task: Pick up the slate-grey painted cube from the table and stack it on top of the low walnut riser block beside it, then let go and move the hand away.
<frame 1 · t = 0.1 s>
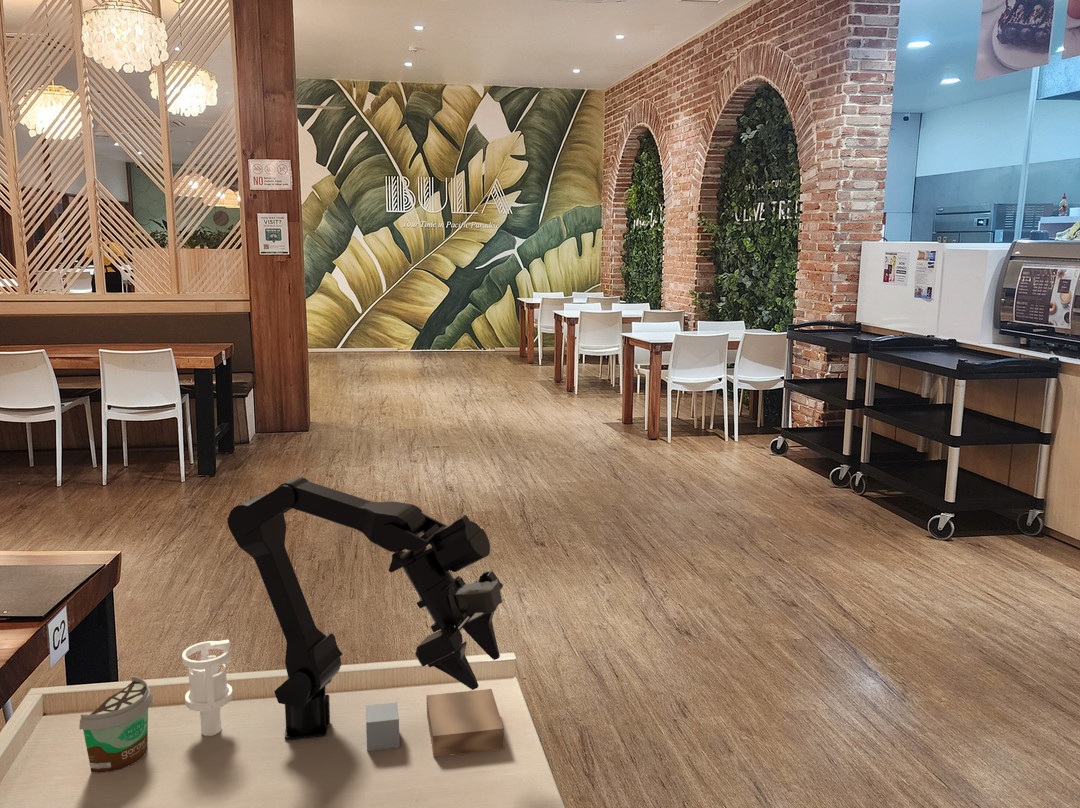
hand: (486, 673, 128), 15 cm above the table, tool tilted 30°, fingers open, 9 cm apart
slate cube: (382, 740, 136), on the table
food container: (130, 757, 131), on the table
walnut riser: (463, 733, 139), on the table
strainer: (211, 731, 138), on the table
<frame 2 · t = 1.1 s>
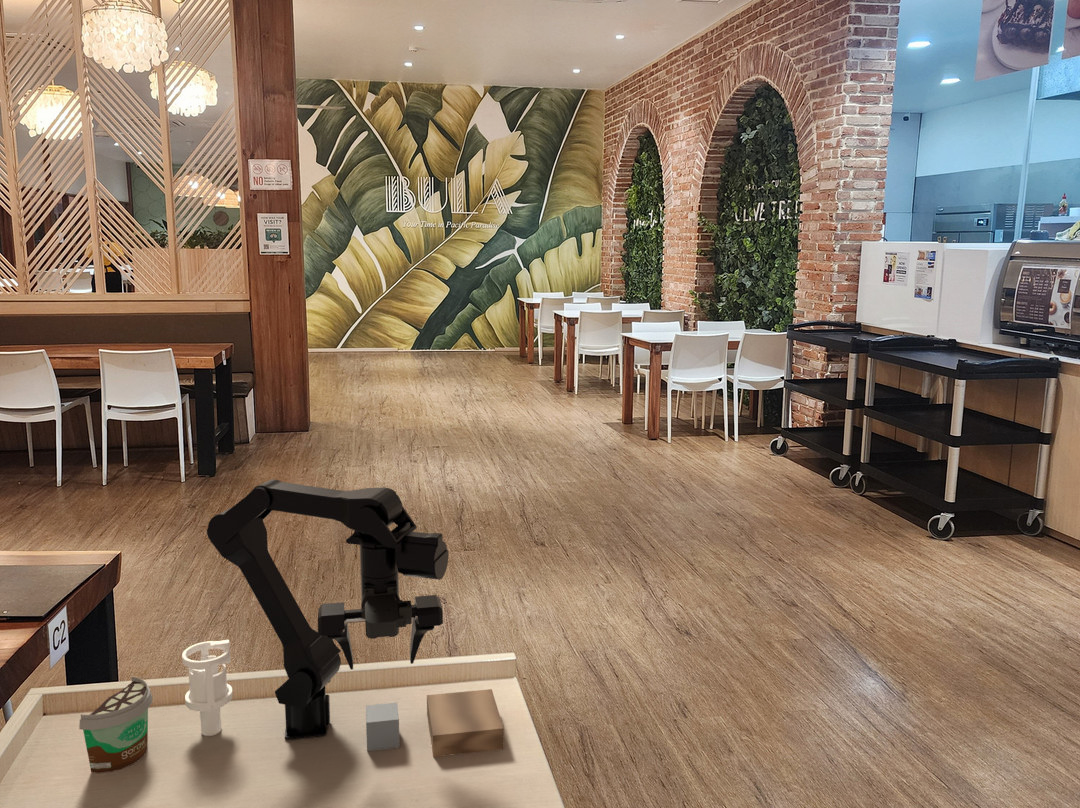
hand: (382, 665, 133), 13 cm above the table, tool pointing down, fingers open, 9 cm apart
nothing on the table moved.
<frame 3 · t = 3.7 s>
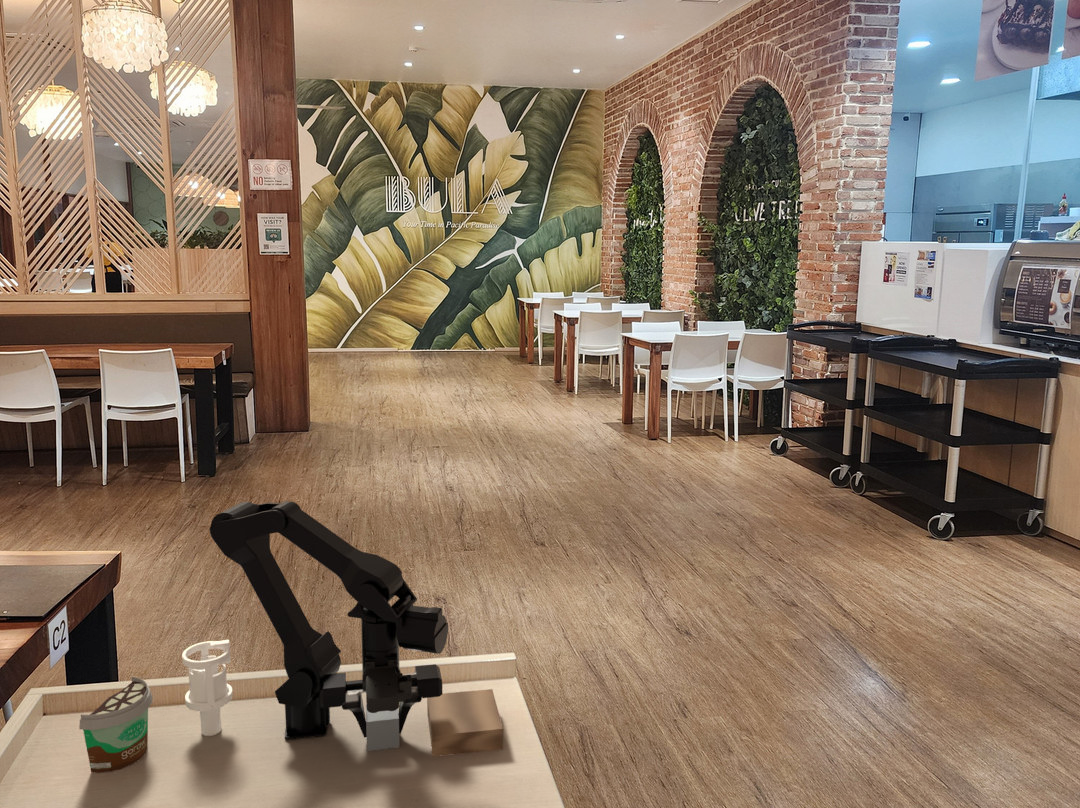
hand: (382, 734, 136), 1 cm above the table, tool pointing down, fingers closed on slate cube, 5 cm apart
slate cube: (382, 740, 136), on the table, touching gripper
everything else where it was.
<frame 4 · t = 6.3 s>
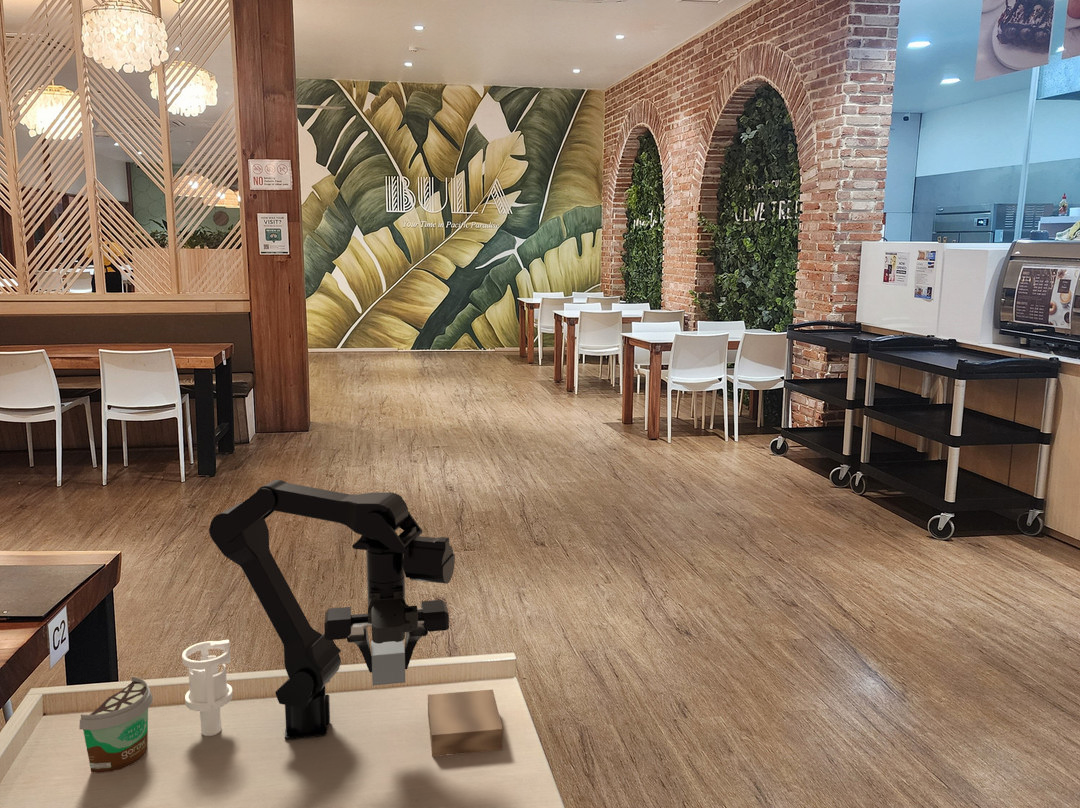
hand: (388, 669, 134), 12 cm above the table, tool pointing down, fingers closed on slate cube, 5 cm apart
slate cube: (388, 676, 134), point 11 cm above the table, touching gripper
everything else where it was.
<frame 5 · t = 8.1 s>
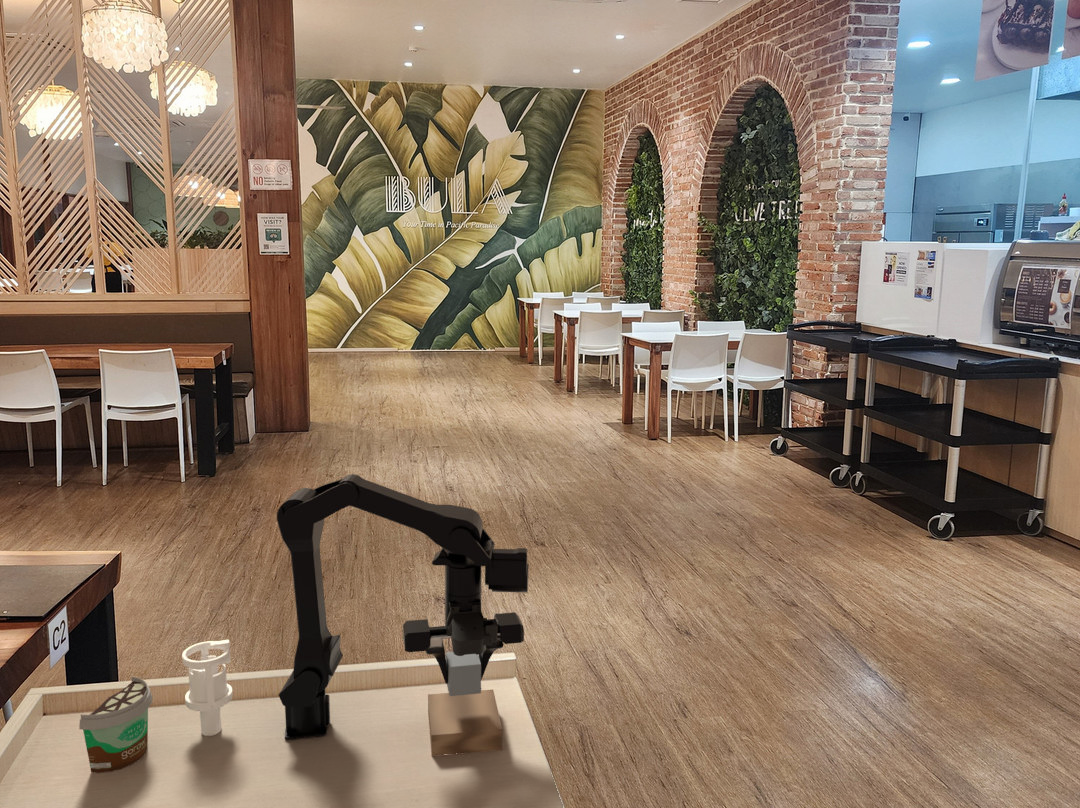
hand: (463, 680, 137), 9 cm above the table, tool pointing down, fingers closed on slate cube, 5 cm apart
slate cube: (463, 686, 137), point 8 cm above the table, touching gripper
everything else where it was.
when the fingers open (6 cm above the table, at t = 9.4 s): slate cube drops 2 cm, resting on walnut riser.
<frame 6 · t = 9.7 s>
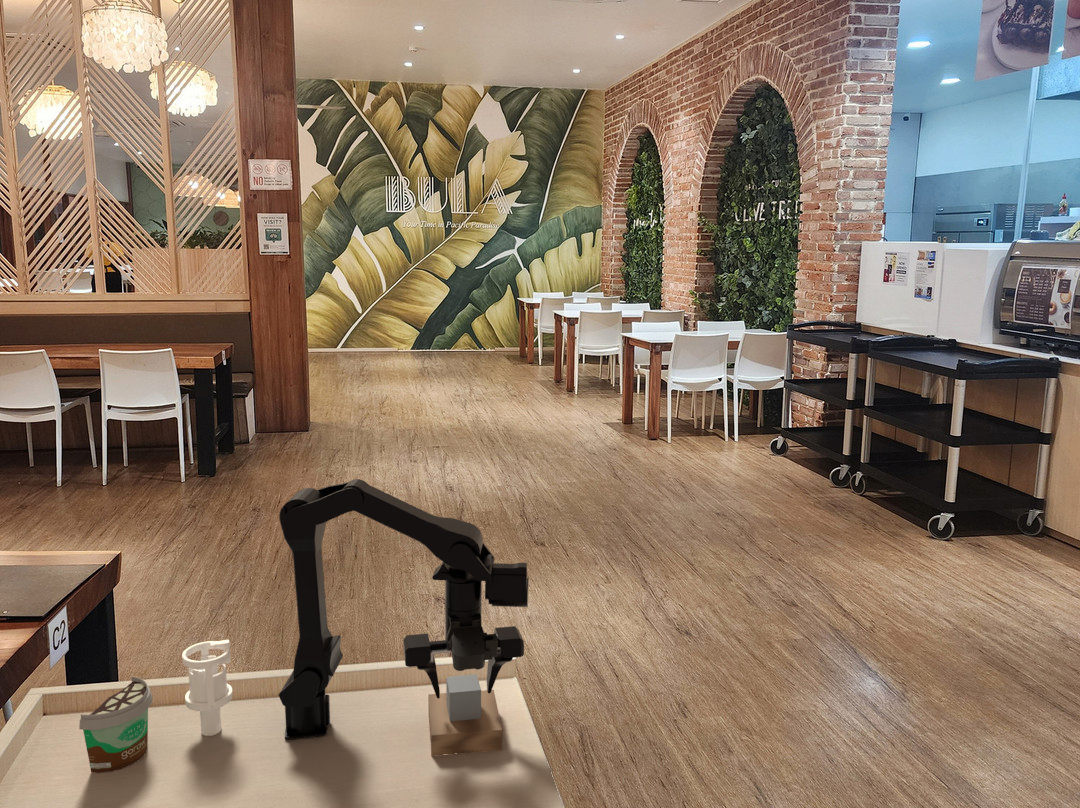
hand: (463, 694, 137), 6 cm above the table, tool pointing down, fingers open, 8 cm apart
slate cube: (463, 711, 138), point 4 cm above the table, touching walnut riser
walnut riser: (463, 733, 139), on the table, touching slate cube
everything else where it was.
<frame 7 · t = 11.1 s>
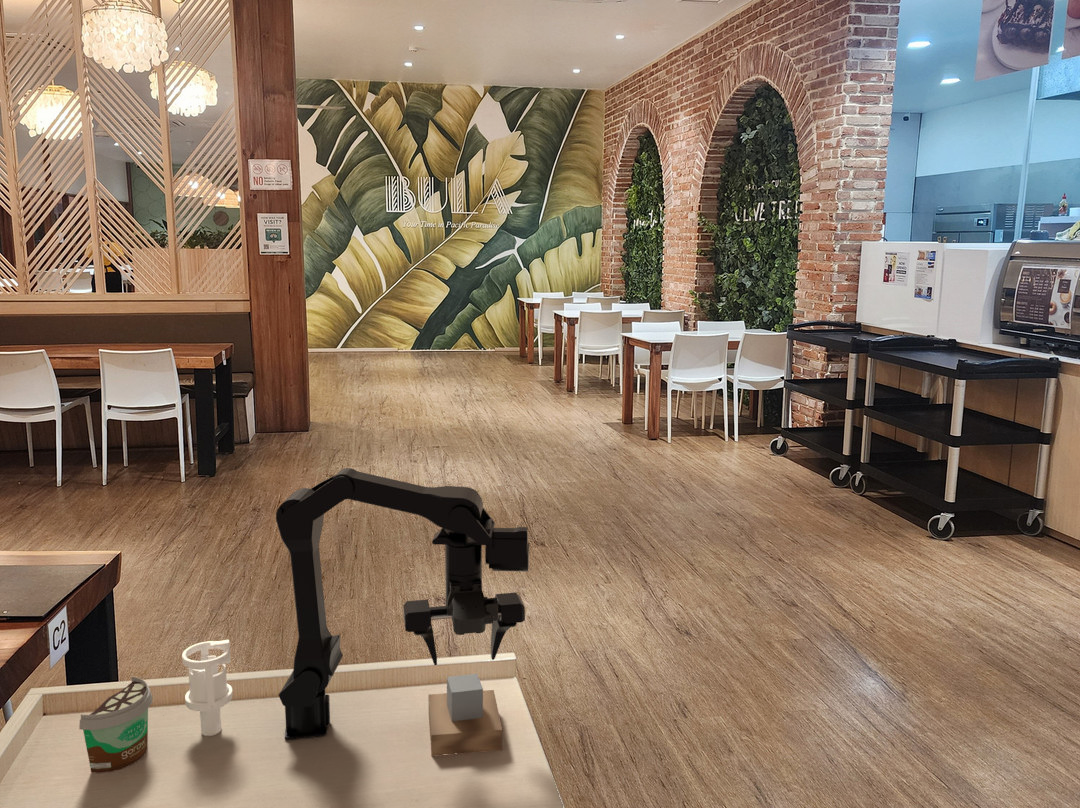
hand: (464, 661, 136), 12 cm above the table, tool pointing down, fingers open, 9 cm apart
nothing on the table moved.
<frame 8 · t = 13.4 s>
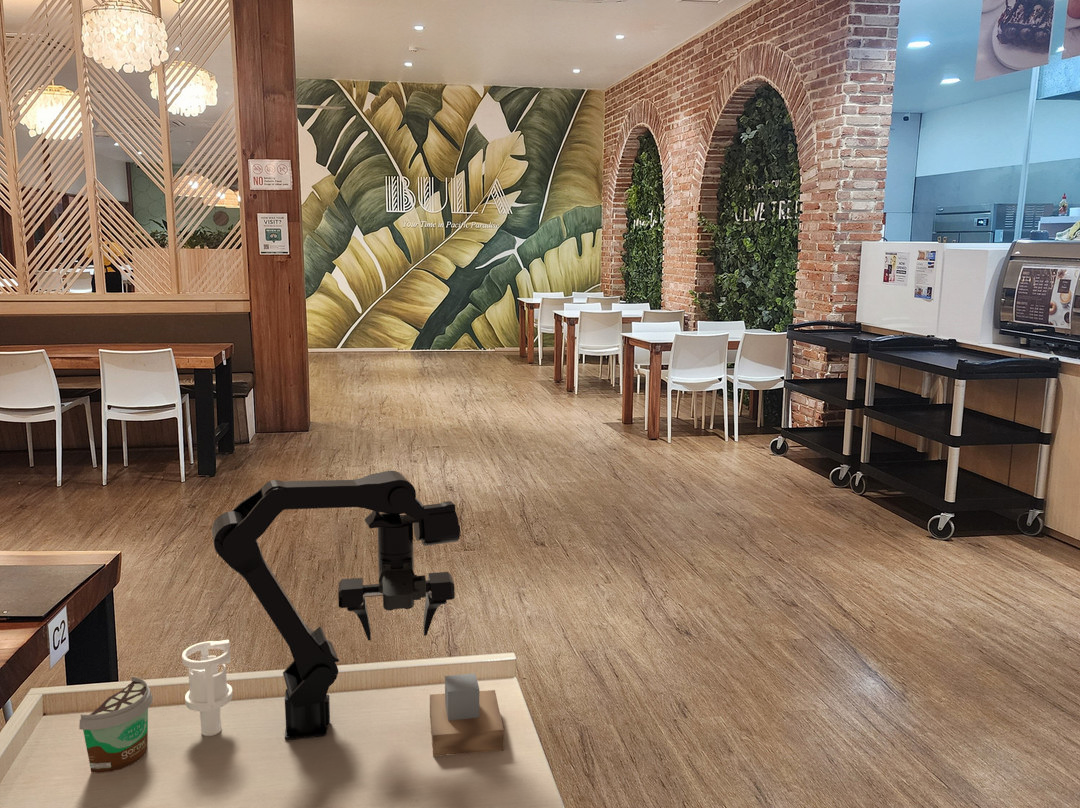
hand: (397, 637, 143), 13 cm above the table, tool pointing down, fingers open, 9 cm apart
nothing on the table moved.
at the end: slate cube inside the target area on the walnut riser (0.6 cm from its centre), point 4.0 cm above the walnut riser's base; slate cube tilted 0°; the gripper is holding nothing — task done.
